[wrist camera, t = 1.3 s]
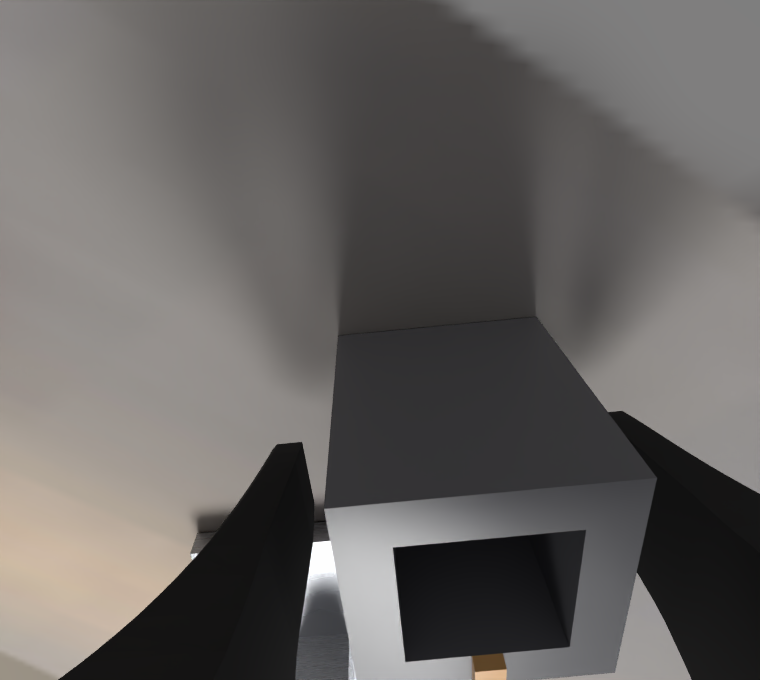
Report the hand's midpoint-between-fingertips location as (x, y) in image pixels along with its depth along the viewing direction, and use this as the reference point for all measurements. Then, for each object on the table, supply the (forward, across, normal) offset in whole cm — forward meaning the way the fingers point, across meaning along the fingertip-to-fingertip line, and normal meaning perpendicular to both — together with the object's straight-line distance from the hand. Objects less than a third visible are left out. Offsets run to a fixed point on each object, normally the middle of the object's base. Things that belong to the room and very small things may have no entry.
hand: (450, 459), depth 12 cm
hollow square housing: (+2, 0, 0) cm, 2 cm away
